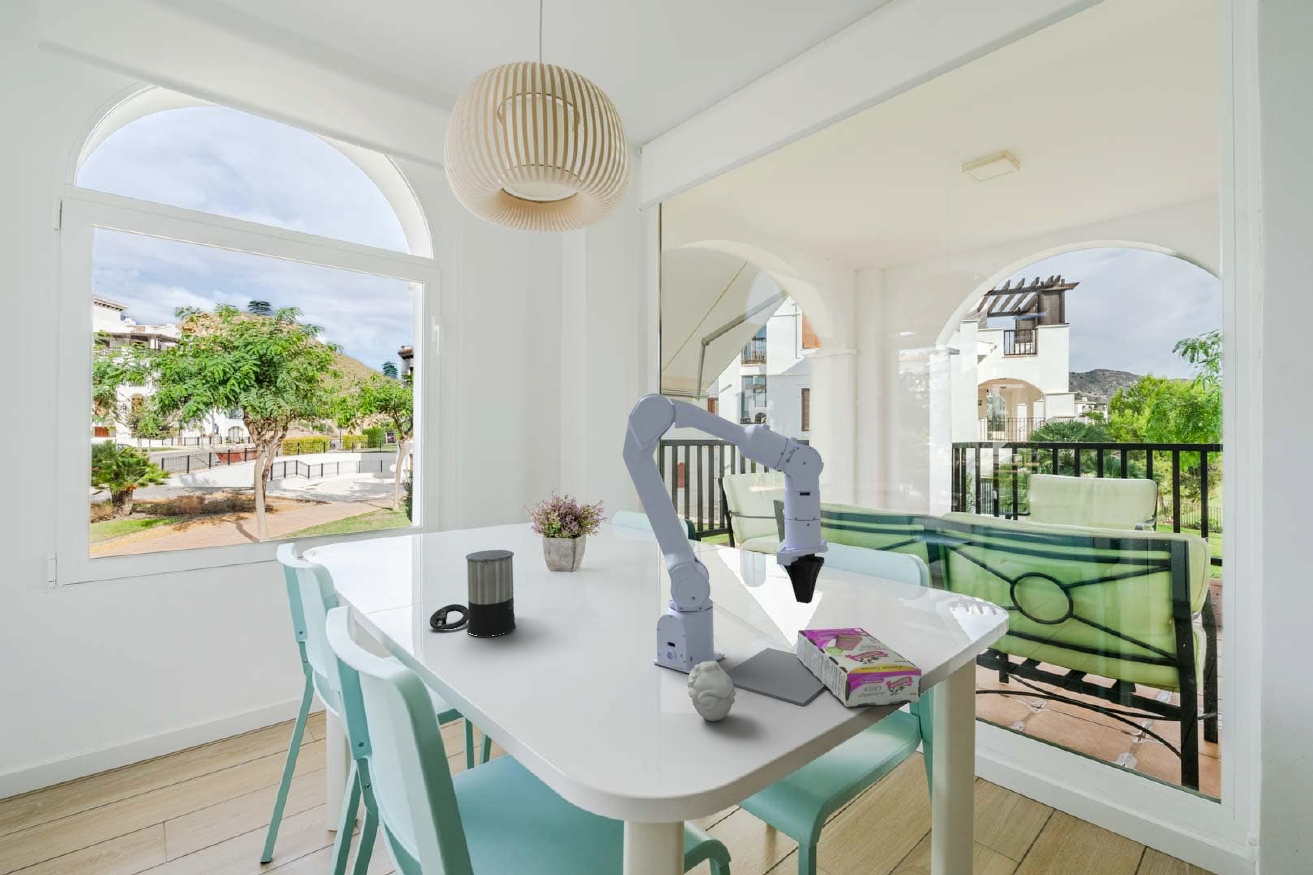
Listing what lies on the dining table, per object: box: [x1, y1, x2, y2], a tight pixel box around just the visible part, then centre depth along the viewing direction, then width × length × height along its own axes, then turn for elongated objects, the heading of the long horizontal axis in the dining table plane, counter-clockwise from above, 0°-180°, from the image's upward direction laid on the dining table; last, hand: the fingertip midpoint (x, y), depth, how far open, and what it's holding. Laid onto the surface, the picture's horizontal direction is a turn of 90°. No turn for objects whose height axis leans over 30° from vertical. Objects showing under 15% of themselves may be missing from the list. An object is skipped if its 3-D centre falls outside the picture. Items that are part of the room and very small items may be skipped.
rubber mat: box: [725, 647, 827, 707], centre depth 90 cm, size 16×14×1 cm
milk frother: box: [429, 549, 517, 637], centre depth 116 cm, size 14×16×15 cm
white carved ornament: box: [687, 661, 737, 722], centre depth 77 cm, size 6×7×7 cm
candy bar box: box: [796, 627, 922, 708], centre depth 87 cm, size 11×5×16 cm
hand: (804, 601), depth 96 cm, fingers closed
